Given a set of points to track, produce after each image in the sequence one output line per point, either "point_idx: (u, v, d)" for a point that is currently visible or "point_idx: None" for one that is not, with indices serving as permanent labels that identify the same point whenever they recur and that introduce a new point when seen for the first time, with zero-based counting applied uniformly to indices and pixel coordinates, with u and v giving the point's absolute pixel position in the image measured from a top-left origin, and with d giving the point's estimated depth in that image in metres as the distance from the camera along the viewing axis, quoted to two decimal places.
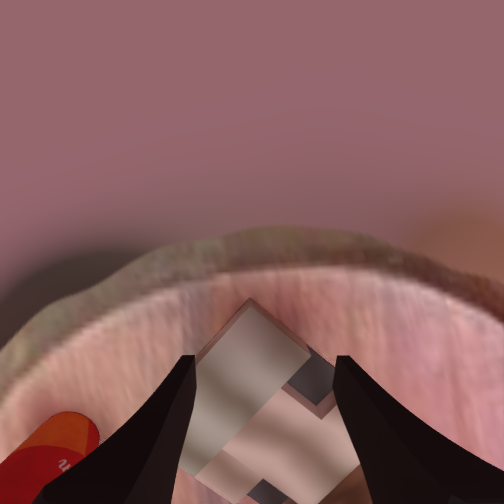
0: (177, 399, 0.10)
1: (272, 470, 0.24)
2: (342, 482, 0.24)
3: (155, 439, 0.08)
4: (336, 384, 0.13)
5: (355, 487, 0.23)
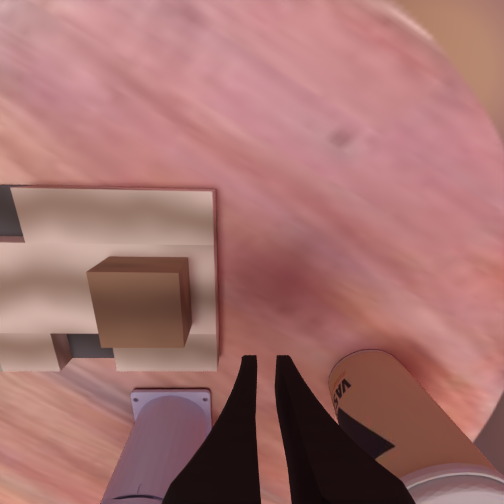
0: None
1: (48, 321, 0.21)
2: None
3: (255, 438, 0.08)
4: (276, 384, 0.13)
5: None
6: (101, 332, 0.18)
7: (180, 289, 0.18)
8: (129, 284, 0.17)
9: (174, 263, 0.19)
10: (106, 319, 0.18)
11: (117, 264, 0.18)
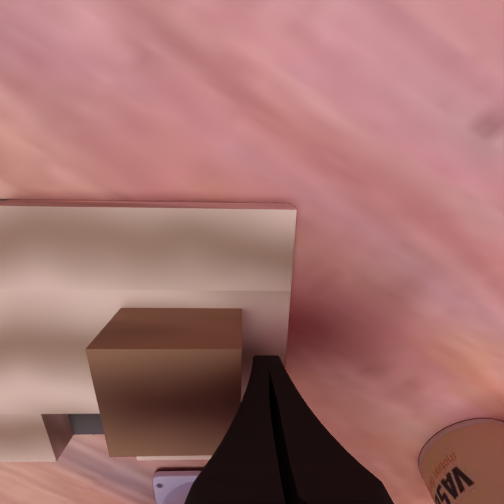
0: None
1: (37, 398, 0.14)
2: None
3: (272, 438, 0.08)
4: None
5: None
6: (110, 436, 0.11)
7: None
8: (157, 367, 0.10)
9: (226, 323, 0.12)
10: (118, 417, 0.11)
11: (136, 327, 0.11)
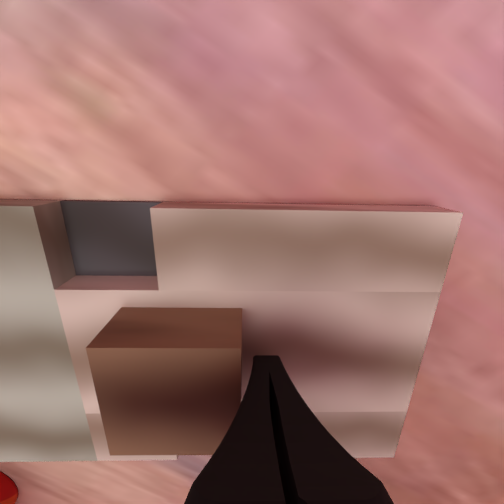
0: None
1: None
2: None
3: (272, 438, 0.08)
4: None
5: None
6: (110, 434, 0.11)
7: (240, 370, 0.11)
8: (157, 366, 0.10)
9: (226, 323, 0.12)
10: (118, 416, 0.11)
11: (136, 326, 0.11)
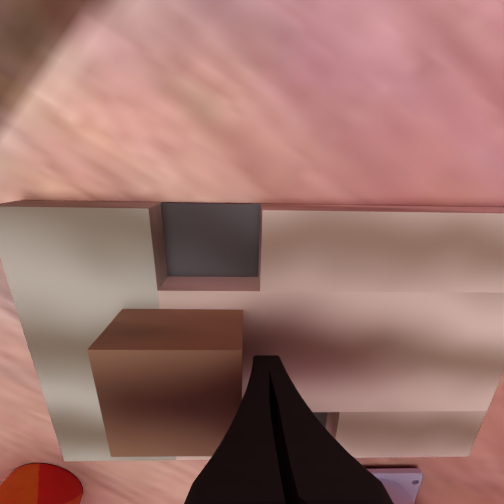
0: None
1: None
2: None
3: (272, 438, 0.08)
4: None
5: None
6: (111, 436, 0.11)
7: (241, 372, 0.11)
8: (158, 368, 0.10)
9: (227, 325, 0.12)
10: (120, 418, 0.11)
11: (137, 328, 0.11)
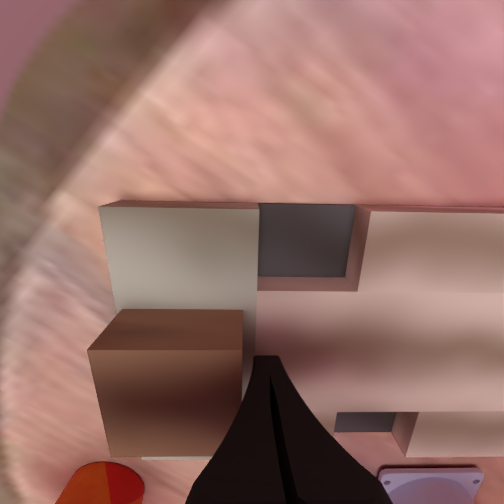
0: None
1: (341, 396, 0.15)
2: None
3: (273, 438, 0.08)
4: None
5: None
6: (111, 436, 0.11)
7: (241, 372, 0.11)
8: (158, 368, 0.10)
9: (227, 325, 0.12)
10: (119, 418, 0.11)
11: (137, 328, 0.11)
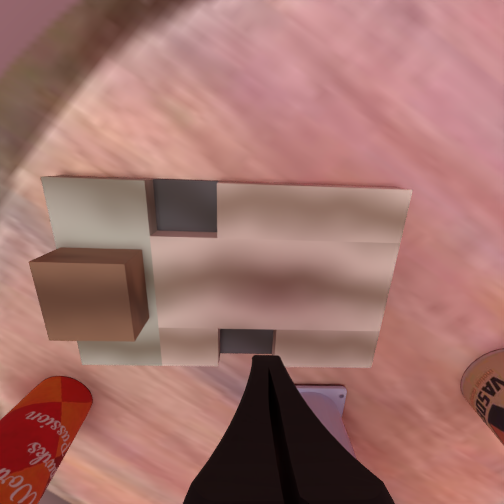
0: None
1: (219, 316, 0.21)
2: None
3: (271, 438, 0.08)
4: None
5: None
6: (48, 324, 0.18)
7: (128, 281, 0.17)
8: (74, 276, 0.17)
9: (124, 255, 0.18)
10: (52, 311, 0.18)
11: (65, 255, 0.18)
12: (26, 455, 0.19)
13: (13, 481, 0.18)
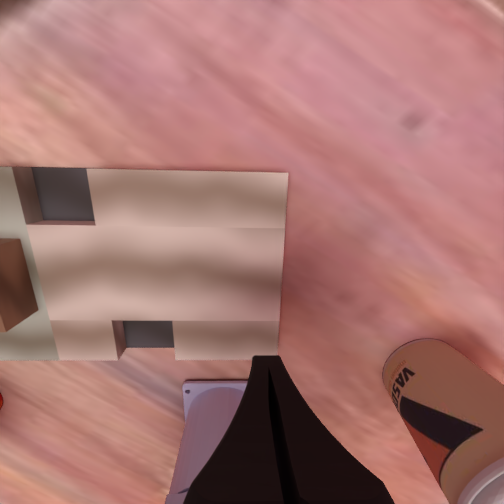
0: None
1: (110, 307, 0.21)
2: None
3: (271, 438, 0.08)
4: None
5: None
6: None
7: None
8: None
9: None
10: None
11: None
12: None
13: None
